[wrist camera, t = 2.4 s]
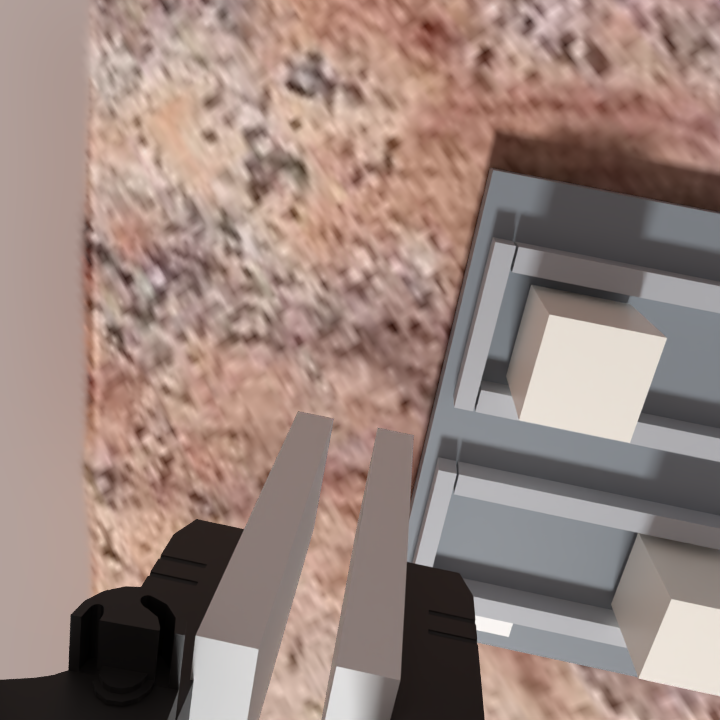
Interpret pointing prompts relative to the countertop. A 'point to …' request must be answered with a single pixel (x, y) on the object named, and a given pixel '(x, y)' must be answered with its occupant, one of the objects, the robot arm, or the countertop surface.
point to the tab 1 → (582, 363)
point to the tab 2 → (672, 613)
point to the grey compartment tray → (563, 447)
